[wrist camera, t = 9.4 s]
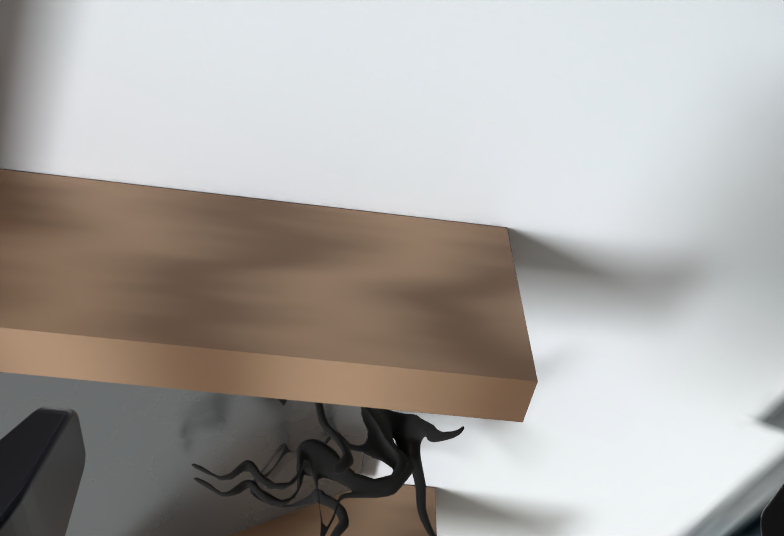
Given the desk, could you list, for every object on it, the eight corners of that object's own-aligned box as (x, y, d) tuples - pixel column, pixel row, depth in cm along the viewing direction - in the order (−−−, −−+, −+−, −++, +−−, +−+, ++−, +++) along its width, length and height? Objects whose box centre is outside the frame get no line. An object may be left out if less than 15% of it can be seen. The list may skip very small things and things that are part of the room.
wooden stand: (506, 227, 23) (538, 381, 18) (428, 508, 32) (434, 663, 27) (-42, 164, 22) (-180, 309, 16) (40, 474, 31) (-32, 629, 26)
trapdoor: (382, 265, 24) (393, 280, 23) (349, 472, 30) (358, 487, 30) (-38, 358, 18) (-35, 380, 18) (35, 585, 25) (38, 605, 25)
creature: (199, 495, 27) (406, 458, 29) (211, 641, 23) (449, 586, 25) (176, 346, 22) (427, 313, 24) (186, 501, 18) (486, 446, 20)
